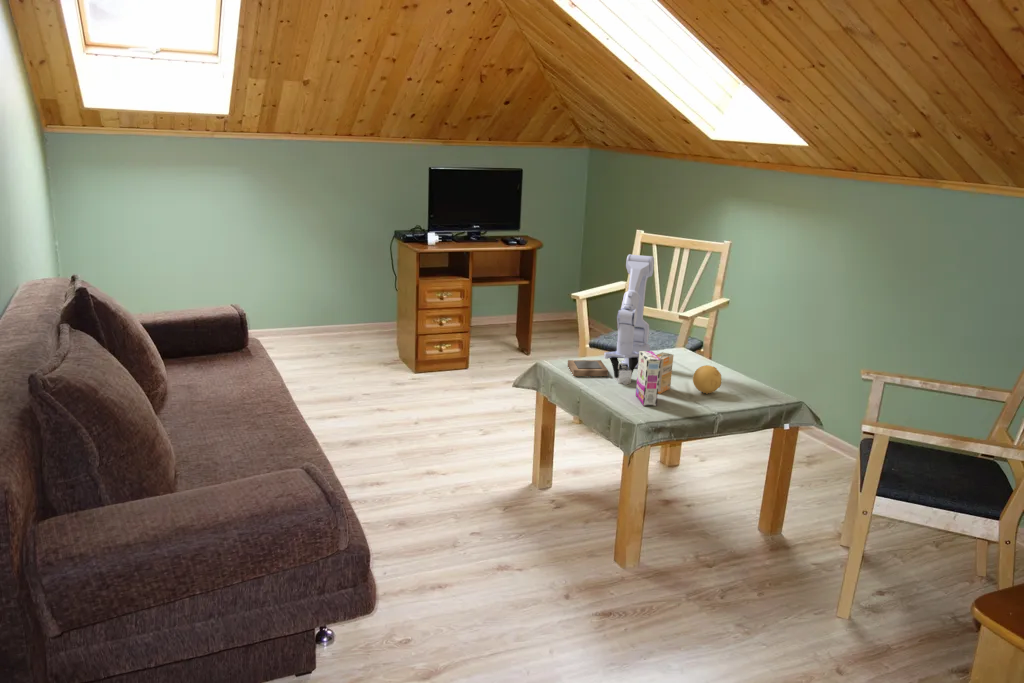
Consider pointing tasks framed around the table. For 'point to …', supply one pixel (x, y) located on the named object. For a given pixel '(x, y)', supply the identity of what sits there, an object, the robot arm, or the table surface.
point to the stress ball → (707, 379)
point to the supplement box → (665, 371)
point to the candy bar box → (648, 378)
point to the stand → (587, 368)
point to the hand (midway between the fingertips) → (622, 376)
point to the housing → (624, 374)
